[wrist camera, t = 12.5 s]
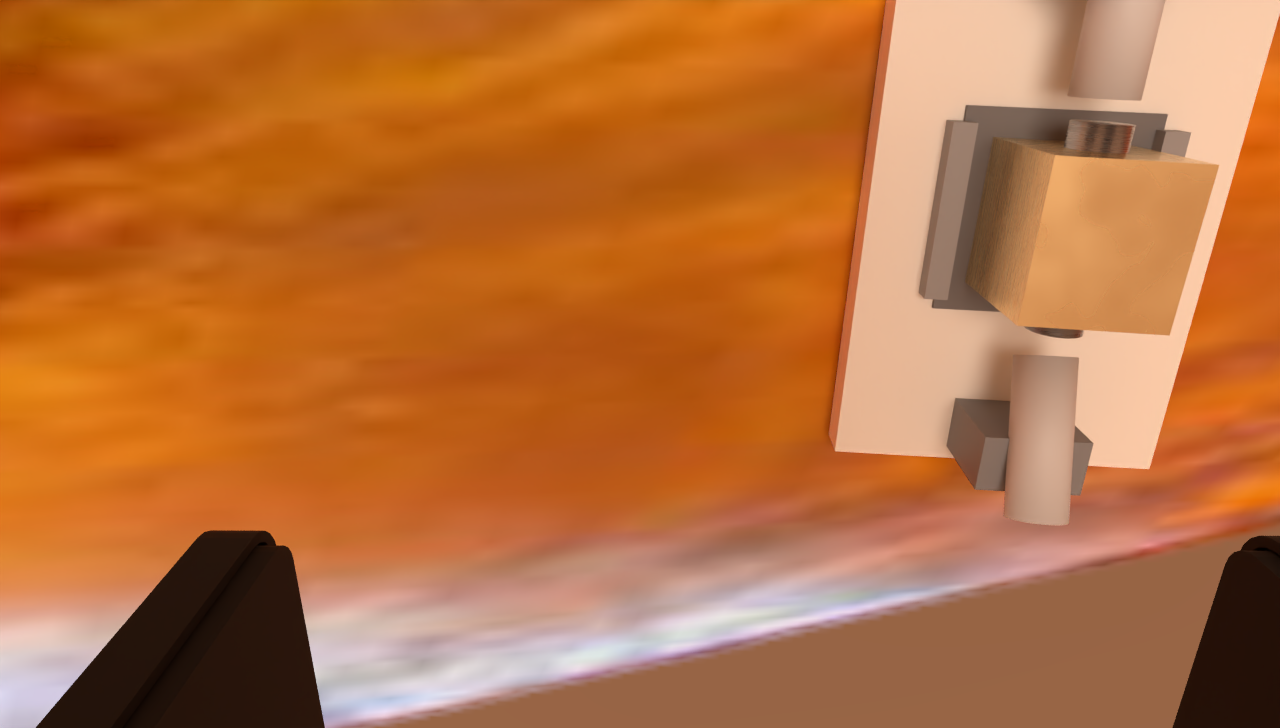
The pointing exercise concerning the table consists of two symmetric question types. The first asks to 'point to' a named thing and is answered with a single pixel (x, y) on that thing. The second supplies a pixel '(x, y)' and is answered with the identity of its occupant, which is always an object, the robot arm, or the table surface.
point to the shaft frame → (947, 216)
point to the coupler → (1087, 231)
